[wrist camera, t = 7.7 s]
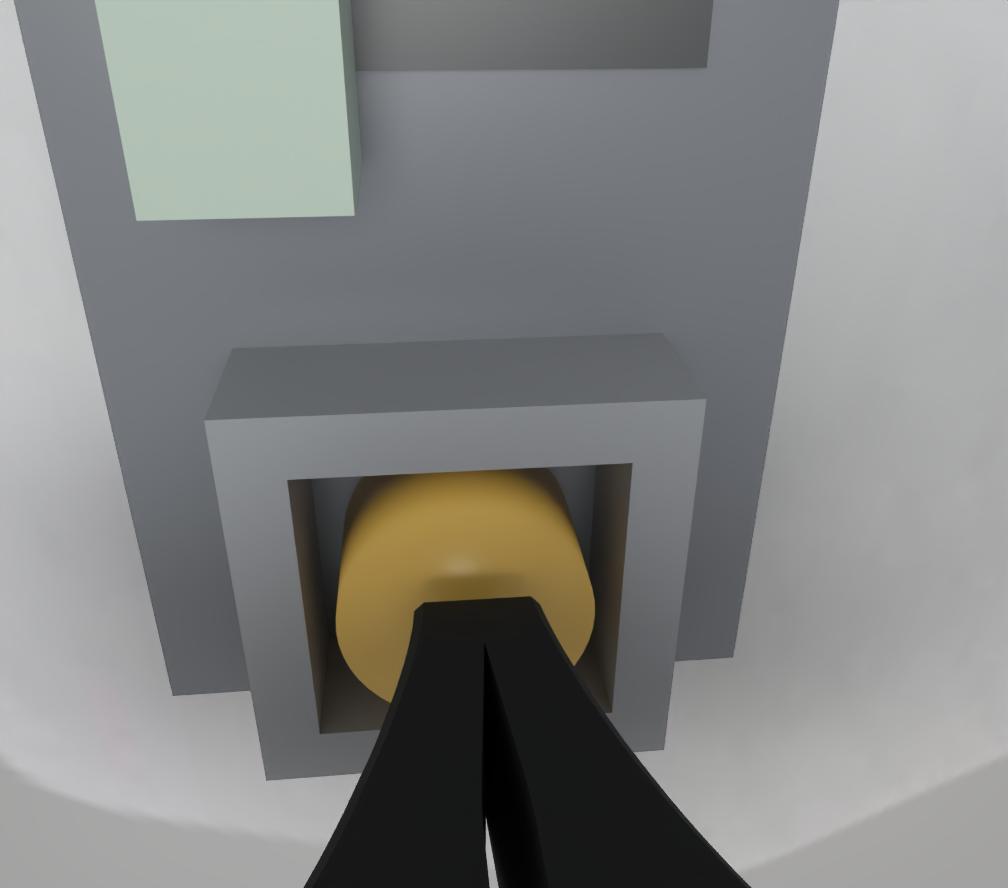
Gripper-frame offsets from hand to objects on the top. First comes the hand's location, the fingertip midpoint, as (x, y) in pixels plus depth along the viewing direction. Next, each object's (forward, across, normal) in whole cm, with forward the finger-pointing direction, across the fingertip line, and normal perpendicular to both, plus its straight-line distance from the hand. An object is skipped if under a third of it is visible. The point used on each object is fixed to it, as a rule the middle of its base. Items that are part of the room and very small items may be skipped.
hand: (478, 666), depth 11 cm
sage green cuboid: (+3, +2, -6) cm, 8 cm away
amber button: (+3, 0, 0) cm, 3 cm away
